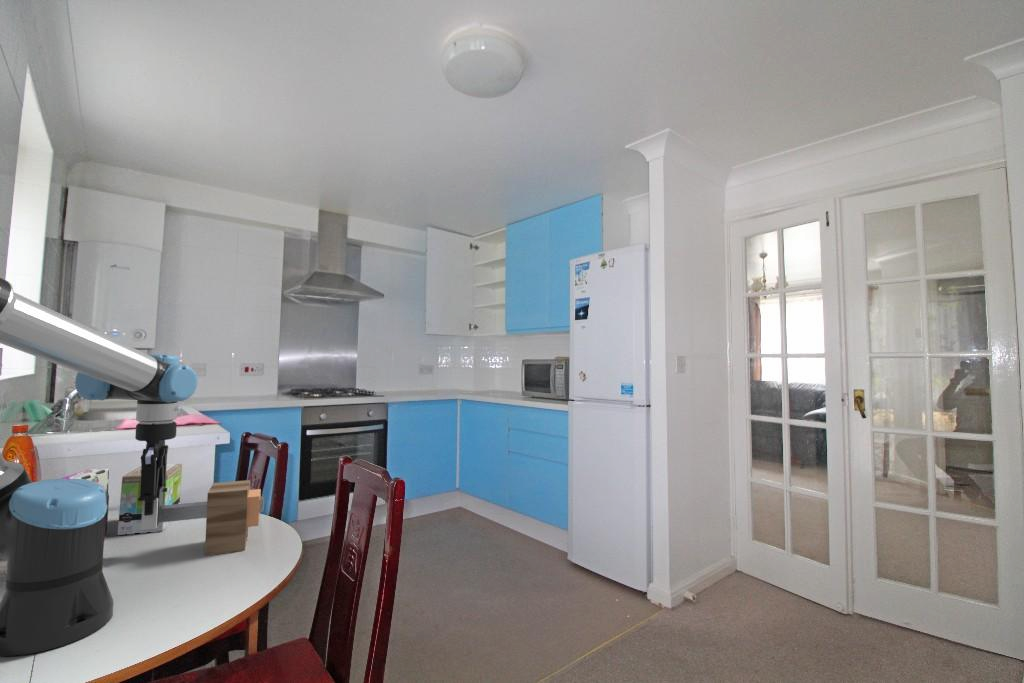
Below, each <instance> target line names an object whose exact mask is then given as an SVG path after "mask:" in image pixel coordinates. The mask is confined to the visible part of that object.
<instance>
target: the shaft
mask: <svg viewBox="0 0 1024 683" xmlns="http://www.w3.org/2000/svg"><path fill="white" fill-rule="evenodd" d="M163 490H164V485H161V486H158V489H157V498H158V513H157V526H158V525H159V523H160V522H170V521H171V522H178V521H179V522H181V521H189V520H198V519H206V518H207V501H197V502H188V503H187V502H186V503H180V504H173V505H163ZM264 506H265V496H260V501H259V512H260V513H264V509H265V507H264ZM171 522H170V523H171Z"/></svg>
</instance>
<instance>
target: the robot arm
mask: <svg viewBox="0 0 1024 683" xmlns="http://www.w3.org/2000/svg"><path fill="white" fill-rule="evenodd" d="M0 344H1V345H4V346H7V347H9V348H12V349H14V350H17V351H21V352H24V353H26V354H28V355H32V356H34V357H36V358H40V359H43V360H45V361H47V362H49V363H52V364H55V365H59V366H61V367H64V368H67V369H68V370H71V371H75V372H77V373H76V375H75V384H74V387H75V390H76V391H77V393H78V395H79V396H80V397H81V398H82V399H85V400H87V401H105V400H128V401H129V400H130V401H131V400H132V401H136V415H135V421H137V422H138V423H137V424H136V425H135V440H136V441H138V442H146V444H145V448H143V449H142V454H141V456H140V464H141V489H140V498H138V501H143V502H142V522H141V530H148V529H156V528H157V513H158V498H157V489H158V486H161V485H164V487H165V486H166V466H167V464H168V462H167V461H168V451H169V445H168V444H166V440H172V439H175V438H176V436H177V424H178V423H176V421H175V420H176V419H177V418H178V417H177V416H178V415H177V414H178V412H180V411H181V407H180V406H177V405H178V402H184V401H186V400H188V399H190V398H191V397H192V396H193V395H194V393H196V389H197V387H198V375H197V373H196V371H195V370H194V369H193V368H192V367H191V366H188V365H186V364H180V358H179V357H178V356H177V355H174V354H152V353H151V354H150V353H149V354H147V353H145V352H144V351H141V350H139V349H136V348H135V347H132V346H130V345H128V344H126V343H124V342H121V341H119V340H117V339H115V338H113V337H111V336H109V335H107V334H105V333H103V332H100V331H98V330H96V329H94V328H91V327H89V326H87V325H85V324H83V323H81V322H79V321H77V320H75V319H73V318H70V317H68V316H66V315H63V314H62V313H59V312H57V311H55V310H53V309H51V308H50V307H46V306H45V305H42V304H40V303H38V302H36V301H33V299H30V298H28V297H25V296H23V295H21V294H19V293H17V292H15V290H14V288H13V284H12V283H10V281H8V280H6V279H5V278H2V277H0ZM167 489H168V488H164V490H163V492H167ZM106 511H107V504H106V492H105V489H104V488H103V487H102V486H101V485H100V484H98V483H96V482H93V481H89V480H84V479H60V478H52V479H45V480H44V479H43V480H39V481H32V479H31V477H30V475H29V474H28V472H27V471H26V469H25V467H24V465H23V464H22V463H21V462H20V463H19V462H15V461H10V460H9V461H7V460H6V459H5V457H4V456H3V455H2V452H0V561H4V562H5V561H6V573H5V574H6V577H5V578H6V579H5V591H4V593H3V596H2V598H1V601H0V656H1V657H13V656H16V657H17V656H23V655H30V654H37V653H41V652H44V651H48V650H52V649H55V648H59V647H62V646H66V645H68V644H71V643H73V642H77V641H79V640H80V639H83V638H86V637H88V636H90V635H92V634H93V633H95V632H97V631H99V630H100V629H102V628H103V627H105V625H107V624H108V623H109V622H110V620H111V619H112V618H113V615H114V598H113V595H112V592H111V591H110V589H109V585H108V582H107V581H106V578H105V575H104V573H103V565H104V564H103V560H104V548H105V535H106V534H105V521H106Z"/></svg>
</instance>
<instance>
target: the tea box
mask: <svg viewBox="0 0 1024 683" xmlns="http://www.w3.org/2000/svg"><path fill="white" fill-rule="evenodd" d="M182 470H183V464H182V463H170V464H169V463H167V466H166V486H165V487H164V488H168V489H167V492H163V505H173V504H181V503H180V502H181V490H182V489H181V486H182V474H183V471H182ZM140 489H141V466H139V467H137V468H136V469H133V470H132V471H130V472H128V473H126V474H124V475H123V476H122V478H121V489H120V501H119V513H118V523H117V524H118V525H117V535H118V536H120V535H121V536H122V535H124V536H125V534H127V535H136V534H135V533H140V534H147V532H151V533H158V532H157V531H160V532H163V531H164V530H165V529H166V528H167V527H168V526H169V525H170V524H171V522H172V521H170V522H160V523H159V525H158V526H157V528H156V529H148V530H141V522H142V502H143V501H138V498H140Z"/></svg>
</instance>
